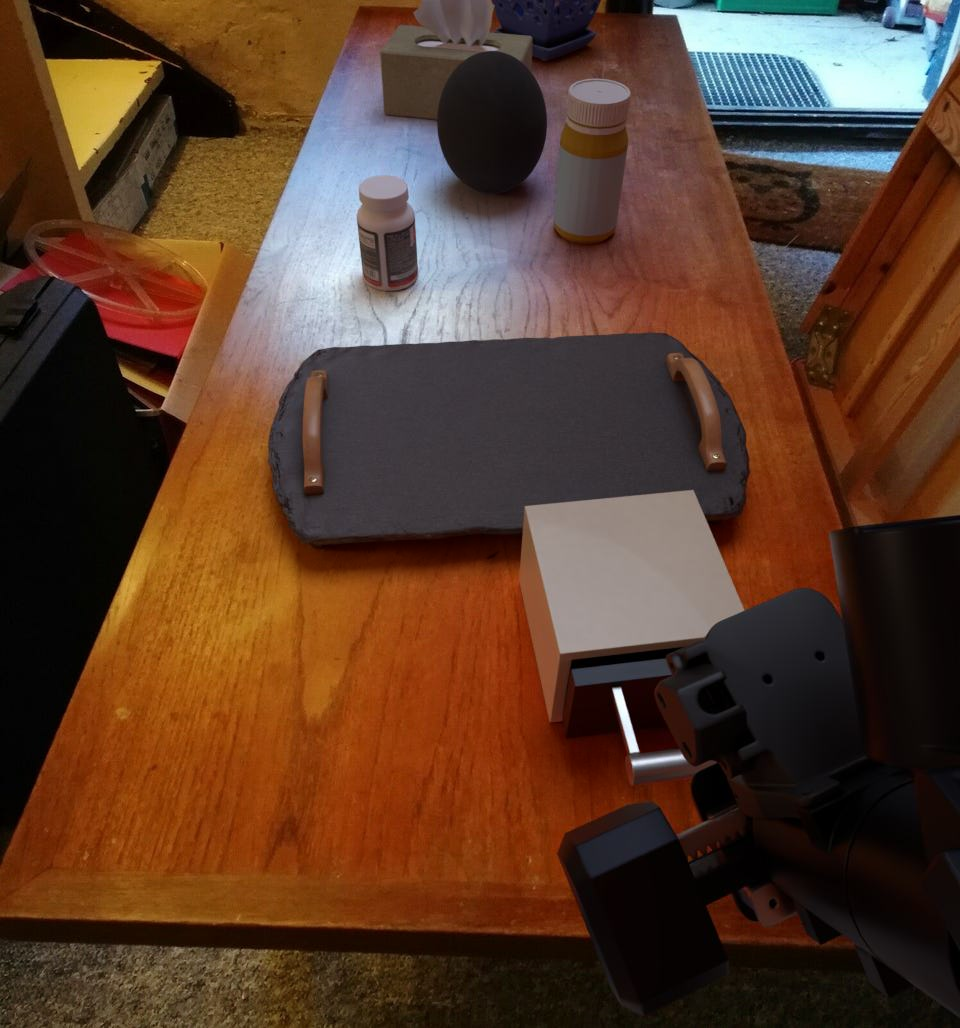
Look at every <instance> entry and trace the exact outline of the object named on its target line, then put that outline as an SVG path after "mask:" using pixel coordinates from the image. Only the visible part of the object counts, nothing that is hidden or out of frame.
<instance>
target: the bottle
mask: <svg viewBox="0 0 960 1028" xmlns="http://www.w3.org/2000/svg"><path fill="white" fill-rule="evenodd" d="M631 95H632V94H631V90H630V88H629V87H628V86H626V84H624V83H621V82H619V81H616V80H611V79H607V78H587V79H580V80H578V81H575V82H574V83H572V84H571V85H570V86H569V88H568V91H567V102H566V117H565V124H564V126H563V128H562V130H561V132H560V138H559V147H558V158H557V159H558V160H557V171H556V172H557V173H556V182H555V196H554V208H553V227H554V229H555V230H556V232H557V233H558V234H559V236H560V237H562V238H563V239H565V240H567V241H569V242H571V243H576V244H580V245H593V244H599V243H601V242H603V241H605V240H607V239H608V238H609V237H611V236H612V235H613V234H614V233H615V232H616V228H617V224H618V220H619V219H618V217H619V212H620V205H621V197H622V190H623V183H624V175H625V170H626V163H627V155H628V148H629V136H628V132H627V130H628V129H627V124H628V123H627V122H628V116H629V112H630V111H629V110H630V104H631Z"/></svg>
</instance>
